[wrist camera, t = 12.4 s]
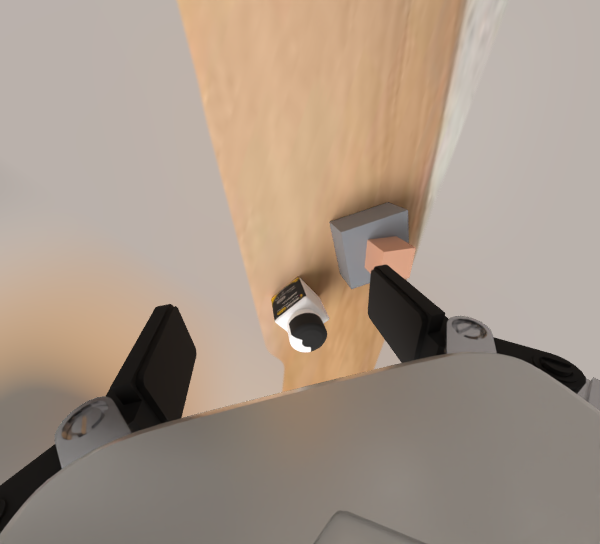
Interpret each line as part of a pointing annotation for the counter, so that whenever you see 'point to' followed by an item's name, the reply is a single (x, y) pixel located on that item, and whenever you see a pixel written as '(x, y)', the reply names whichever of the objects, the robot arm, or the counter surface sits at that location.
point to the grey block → (365, 238)
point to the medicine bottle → (301, 315)
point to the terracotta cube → (390, 255)
